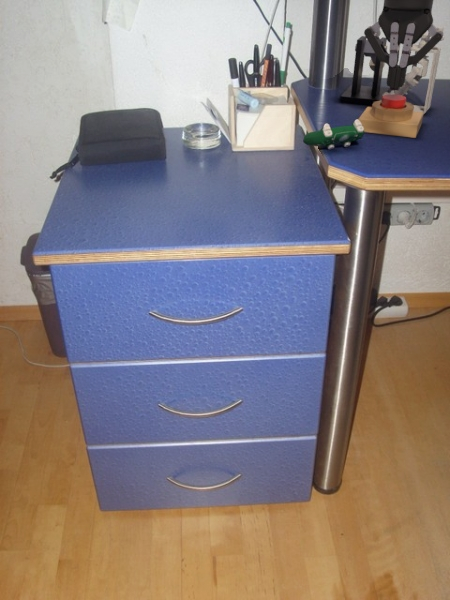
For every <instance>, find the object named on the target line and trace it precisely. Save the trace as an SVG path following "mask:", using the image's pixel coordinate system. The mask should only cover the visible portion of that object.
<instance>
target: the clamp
mask: <svg viewBox="0 0 450 600" xmlns="http://www.w3.org/2000/svg"><path fill="white" fill-rule="evenodd" d="M436 28H437V29H438V30H439V31H442V32H443V33H444V29H445V28H444V26H438V27H436ZM427 35H428V32H426V33H425V34H424V35H423V36H422V37H421V38H420V41H419V42H418V44H413V47H412V50H411V52H414V55H415V54H416V53H417V52H418V51H419V50H420V49H421V48H422V47H423V46H424V45H425V44H426V43H427V42H428V41H427V40H426V37H427ZM444 40H445V35H443V37H442V39H441V40H440V41H439V42H442V41H444ZM428 53H429V54H433V57H432V62H431V68H430V73H429V78H428V85H427V91H426V96H425V101H424V106H423V105H416V104H415V105H414V104H413V105H414V110H413V111H414V112H423V113H424V114H423V115H425V114H426V113H427V112H428V110H429V109H430V108H431V105H432V98H433V94H434V88H435V82H436V77H437V71H438V67H439V62H440V61H439V60H440V55H441V47H440V46H434V47H433V48H432V49H431V50H430V51H429V52H428ZM428 53H427V54H428ZM427 54H426V55H425V56H424V57H423V58H422V59H421V60H420V61H419V62H418V63H417V64H416V65H411V69H410V71H409V72H406V77H405V83H404V84H403V86H402V87H400V88H399V90H390V91H389V93H388V92H385V93H384V94H383V96H384V95H388V94H396V95H402V96H405V95H408V91H412V87H417V86H418V84H419V83H420V80H421V79H422V78H425V77H426V76H427V73H428V67H429V62H430V59H428V58H429V55H427ZM418 65H421V66H422V67H420V66H418Z"/></svg>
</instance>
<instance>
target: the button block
mask: <svg viewBox="0 0 450 600" xmlns="http://www.w3.org/2000/svg"><path fill="white" fill-rule="evenodd" d="M381 103H382V100H380V101H376V102H374V103H373V104H372V105H371V106H367V107H366V108H365V109H364V111H363V112H362V114H361V115H360V116H359V117H358V120H359V121H360V122H361V124H362V126H363V128H364V133H368V134H369V133H370V134H378V135H388V136H393V137H403V138H410V139H411V138H412V139H416V138H417V136H418V134H419V132H420V129H421V127H422V125H423V118H424V115H425V114H424V113H423V112H414V111H413V110H414V104H412V103H411V102H408V101H406V103H405V108H402V109H390V108H385V107H382V106H381Z"/></svg>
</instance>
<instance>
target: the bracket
mask: <svg viewBox="0 0 450 600" xmlns="http://www.w3.org/2000/svg"><path fill="white" fill-rule="evenodd" d="M366 40H367V38H366V36H365V35H361V36H360V37H359V38H358V39H356V44H355V47H354V51H355V57H354V64H353V75H352V82H351V84H350V86H349V87H347V89H346V90H345V91H344V92H343V93H342V94H341V95H340V99H339V103H344V104H353V105H363V106H372V104H373V103H374V102H376V101H380V100H382V97H383V94H384V93H385V92H388V93H390V87H382V78H383V71H384V67H383V64H384V62H381V61H379V59H378V57H377V55H376V61H375V69H374V71H373V77H372V84H371V85H362V80H363V71H364V64H365V55H364V47H365V41H366ZM380 40H381V42H382V43H383V45H384V47H385V49H386V50H387V51H388V45H387V43H388V40H387V39H386V37H385V36H384V37H381V38H380Z"/></svg>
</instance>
